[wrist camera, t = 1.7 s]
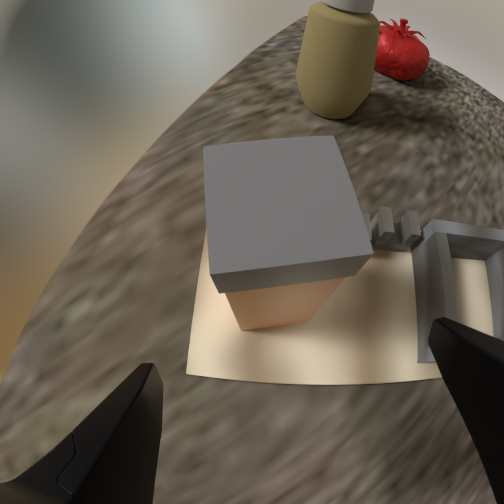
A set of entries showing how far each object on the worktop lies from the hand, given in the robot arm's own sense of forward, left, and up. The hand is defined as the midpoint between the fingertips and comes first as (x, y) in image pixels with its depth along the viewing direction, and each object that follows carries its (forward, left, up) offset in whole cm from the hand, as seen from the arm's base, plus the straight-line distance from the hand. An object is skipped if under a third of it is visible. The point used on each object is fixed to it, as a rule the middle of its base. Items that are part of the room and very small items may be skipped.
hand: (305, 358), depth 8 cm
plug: (+5, -2, -11) cm, 12 cm away
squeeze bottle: (+20, -19, -12) cm, 30 cm away
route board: (0, -8, -12) cm, 15 cm away
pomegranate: (+24, -35, -12) cm, 44 cm away
